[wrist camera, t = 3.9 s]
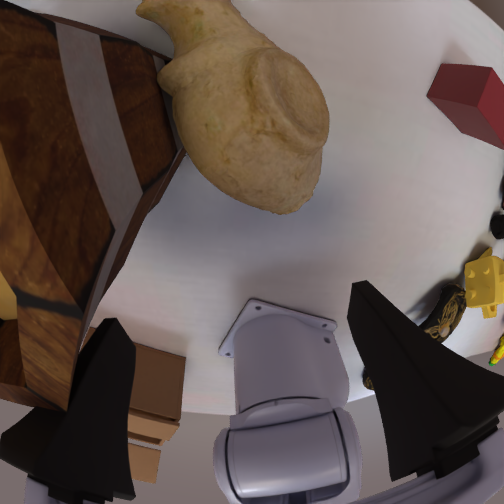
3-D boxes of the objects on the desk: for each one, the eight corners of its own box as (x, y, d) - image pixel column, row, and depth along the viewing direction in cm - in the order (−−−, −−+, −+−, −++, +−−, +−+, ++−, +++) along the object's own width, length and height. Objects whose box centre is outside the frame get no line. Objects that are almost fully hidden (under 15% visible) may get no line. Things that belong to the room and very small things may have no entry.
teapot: (497, 233, 19) (515, 241, 20) (458, 247, 24) (480, 253, 25) (503, 315, 17) (520, 314, 18) (461, 320, 22) (483, 319, 23)
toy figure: (527, 329, 31) (505, 359, 39) (518, 317, 34) (497, 348, 41) (511, 345, 31) (488, 374, 38) (502, 333, 34) (480, 363, 41)
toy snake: (382, 410, 30) (341, 396, 27) (373, 385, 34) (332, 366, 31) (487, 324, 24) (469, 288, 21) (469, 303, 28) (446, 264, 25)
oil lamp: (179, -64, 6) (131, -6, 9) (184, 206, 6) (121, 232, 10) (310, 9, 13) (259, 39, 17) (366, 205, 14) (292, 218, 17)
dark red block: (441, 63, 13) (492, 67, 9) (475, 101, 15) (522, 115, 10) (426, 96, 15) (477, 107, 10) (461, 132, 16) (508, 152, 12)
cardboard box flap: (160, 451, 26) (160, 450, 26) (76, 426, 23) (76, 425, 23) (155, 483, 23) (155, 482, 24) (72, 460, 20) (73, 459, 21)
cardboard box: (166, 397, 33) (161, 451, 26) (90, 374, 30) (75, 426, 23) (186, 357, 28) (180, 426, 21) (89, 326, 25) (65, 391, 18)
